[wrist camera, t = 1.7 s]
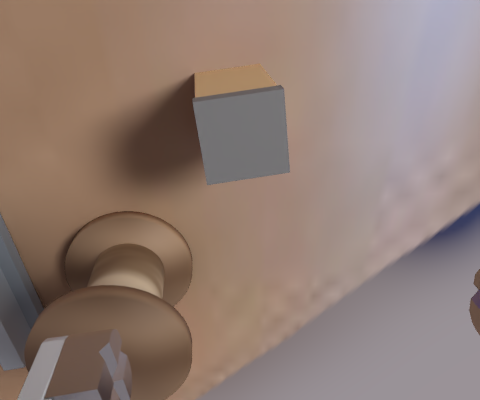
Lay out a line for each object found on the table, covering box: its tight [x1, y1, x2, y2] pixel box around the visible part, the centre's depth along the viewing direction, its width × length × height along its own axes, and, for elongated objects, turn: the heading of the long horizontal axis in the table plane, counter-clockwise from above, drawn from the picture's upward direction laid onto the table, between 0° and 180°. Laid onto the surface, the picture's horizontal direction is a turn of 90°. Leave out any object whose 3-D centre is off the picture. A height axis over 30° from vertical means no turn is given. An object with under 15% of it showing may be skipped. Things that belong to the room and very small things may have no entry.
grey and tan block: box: [193, 64, 290, 185], centre depth 23 cm, size 4×4×7 cm
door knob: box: [24, 211, 192, 400], centre depth 27 cm, size 9×9×9 cm
